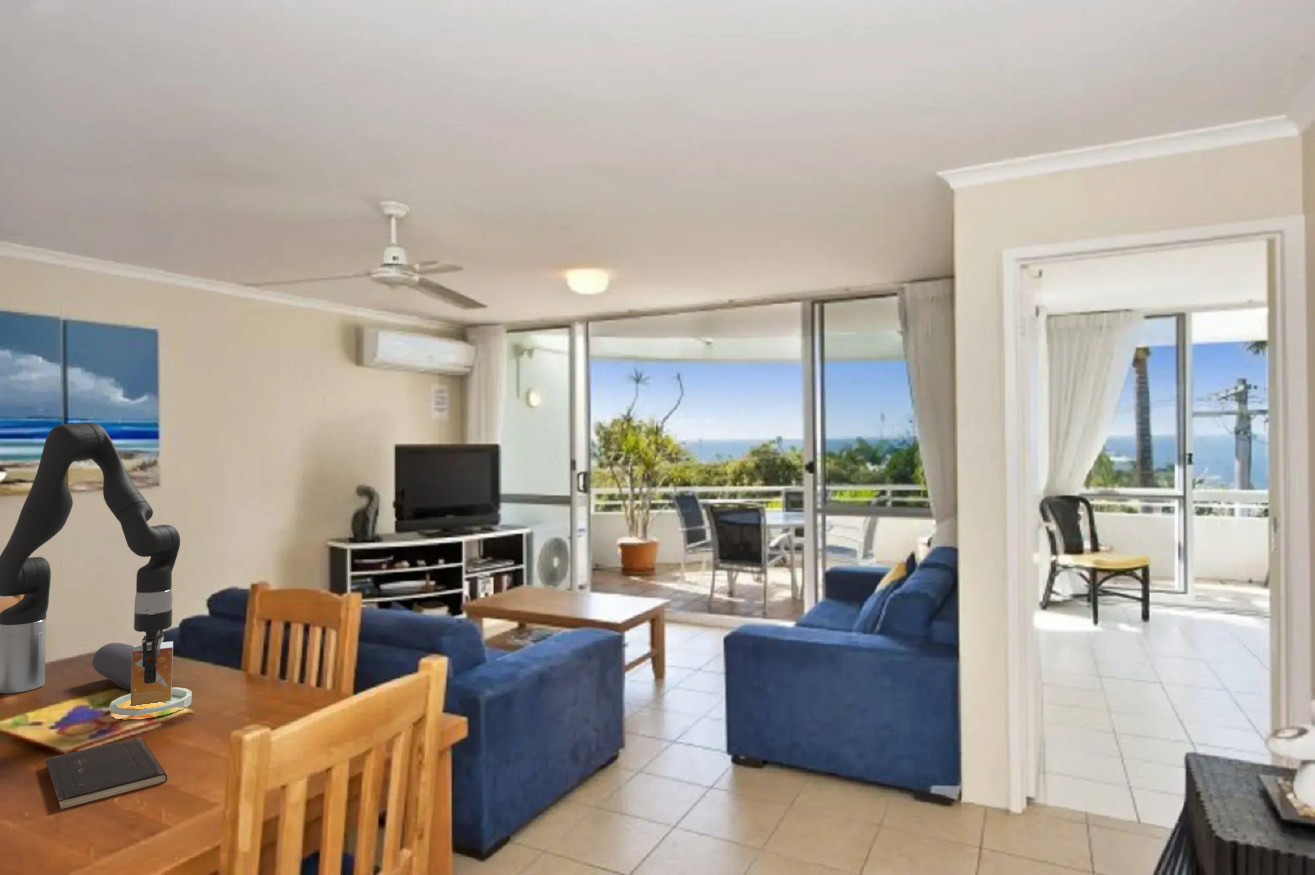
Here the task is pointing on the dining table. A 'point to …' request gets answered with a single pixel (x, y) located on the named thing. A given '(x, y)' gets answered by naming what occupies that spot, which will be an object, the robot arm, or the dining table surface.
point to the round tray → (178, 699)
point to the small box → (163, 683)
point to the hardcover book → (103, 771)
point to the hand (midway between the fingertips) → (151, 678)
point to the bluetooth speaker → (115, 663)
